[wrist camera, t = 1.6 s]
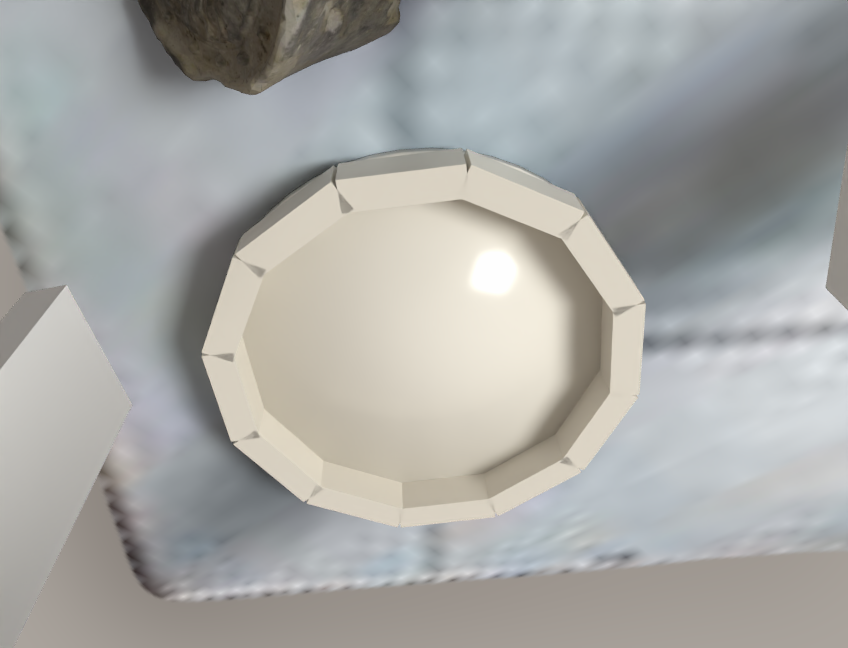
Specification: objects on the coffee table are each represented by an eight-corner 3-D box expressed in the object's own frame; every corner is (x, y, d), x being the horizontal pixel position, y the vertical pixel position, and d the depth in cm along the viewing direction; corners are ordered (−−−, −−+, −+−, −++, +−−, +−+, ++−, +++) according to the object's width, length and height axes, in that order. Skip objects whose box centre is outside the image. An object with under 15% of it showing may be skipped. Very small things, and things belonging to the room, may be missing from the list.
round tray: (166, 178, 31) (148, 203, 29) (636, 120, 31) (657, 140, 28) (272, 505, 43) (266, 542, 40) (617, 466, 42) (631, 501, 40)
